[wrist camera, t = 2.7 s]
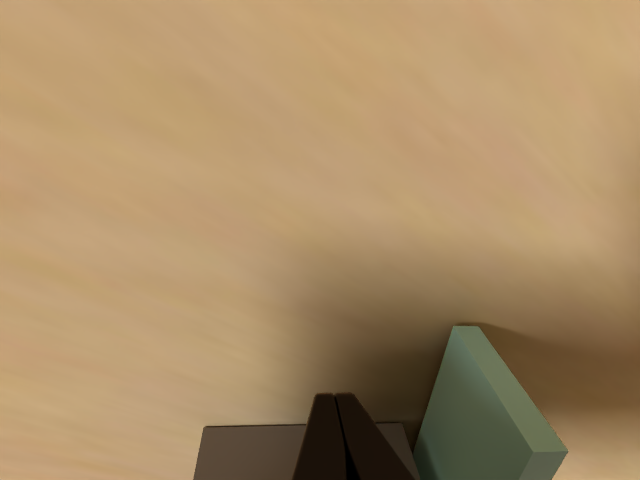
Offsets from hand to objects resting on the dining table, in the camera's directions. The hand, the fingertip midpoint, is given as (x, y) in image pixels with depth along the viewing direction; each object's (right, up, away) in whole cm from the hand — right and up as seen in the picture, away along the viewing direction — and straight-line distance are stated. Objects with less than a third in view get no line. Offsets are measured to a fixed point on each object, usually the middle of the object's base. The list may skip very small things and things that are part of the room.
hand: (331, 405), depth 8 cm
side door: (+3, -4, +4) cm, 6 cm away
